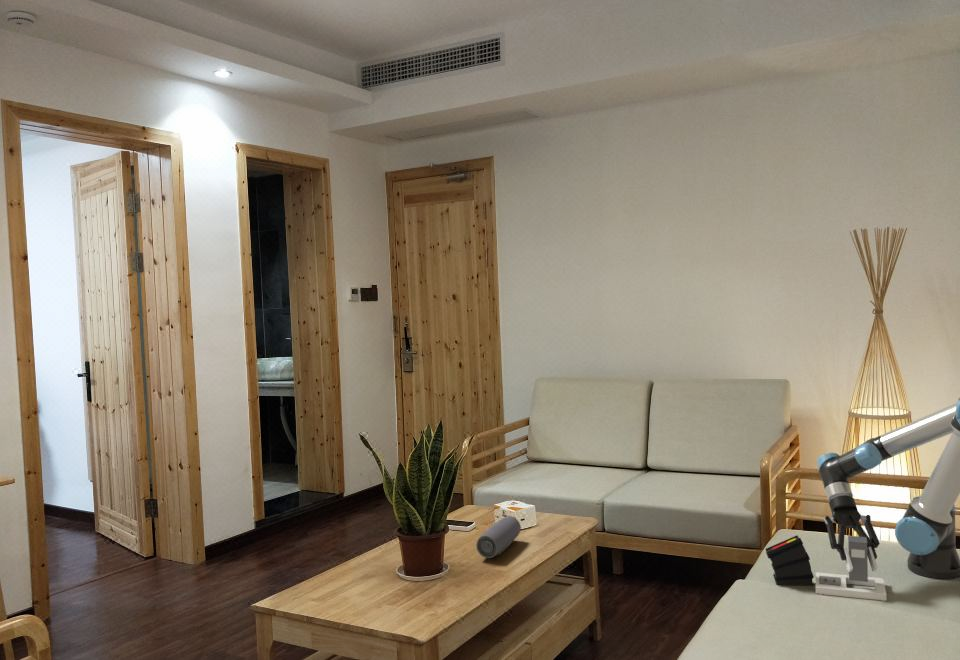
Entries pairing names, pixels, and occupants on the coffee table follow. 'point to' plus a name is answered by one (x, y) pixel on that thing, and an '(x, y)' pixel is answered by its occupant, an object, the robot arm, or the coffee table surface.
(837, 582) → the white flat rectangular frame
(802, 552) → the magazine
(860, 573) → the grey tall block
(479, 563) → the coffee table surface
